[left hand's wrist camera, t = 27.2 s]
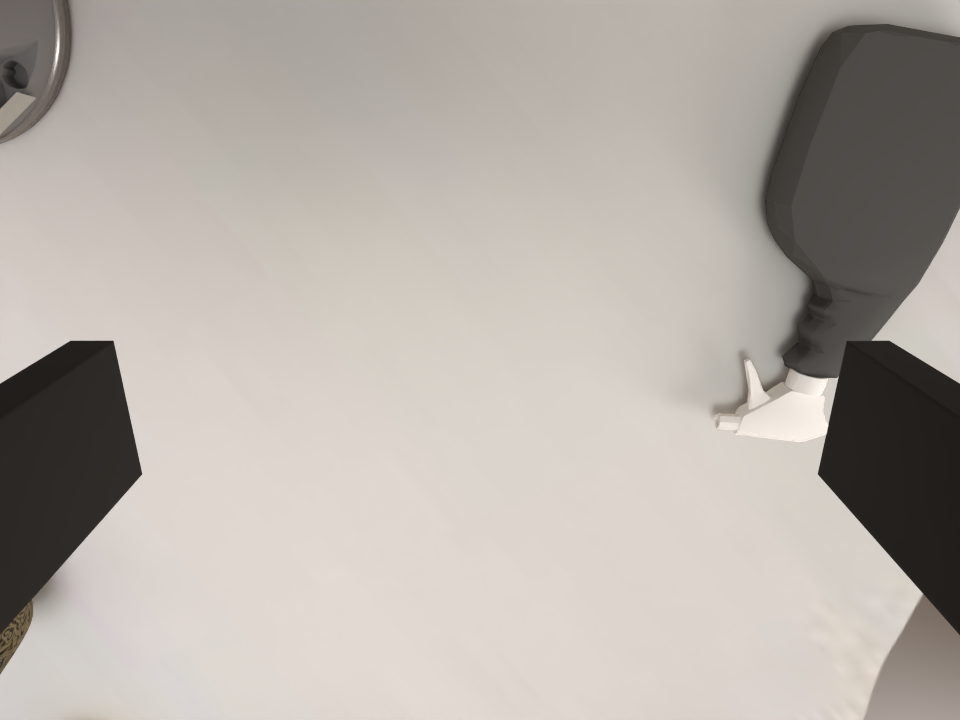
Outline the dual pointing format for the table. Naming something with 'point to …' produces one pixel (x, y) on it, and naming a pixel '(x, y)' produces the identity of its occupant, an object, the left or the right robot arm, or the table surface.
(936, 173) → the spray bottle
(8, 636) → the cup
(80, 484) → the left robot arm
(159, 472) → the table surface
